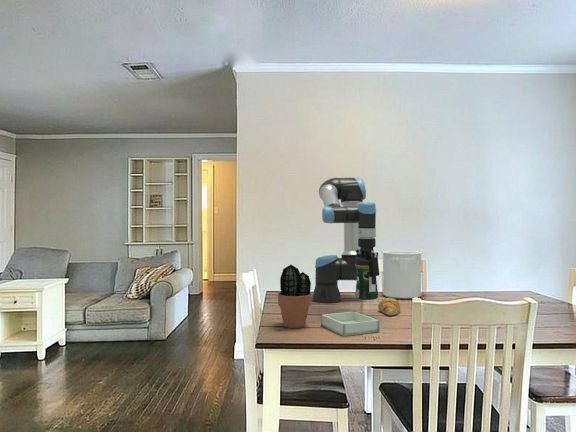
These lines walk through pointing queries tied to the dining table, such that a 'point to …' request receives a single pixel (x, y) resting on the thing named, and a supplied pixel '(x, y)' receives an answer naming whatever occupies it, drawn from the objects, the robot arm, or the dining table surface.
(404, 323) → the dining table surface
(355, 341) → the dining table surface
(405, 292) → the bucket
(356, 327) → the bin
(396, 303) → the croissant
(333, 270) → the robot arm
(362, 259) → the coffee jar
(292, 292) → the potted plant
